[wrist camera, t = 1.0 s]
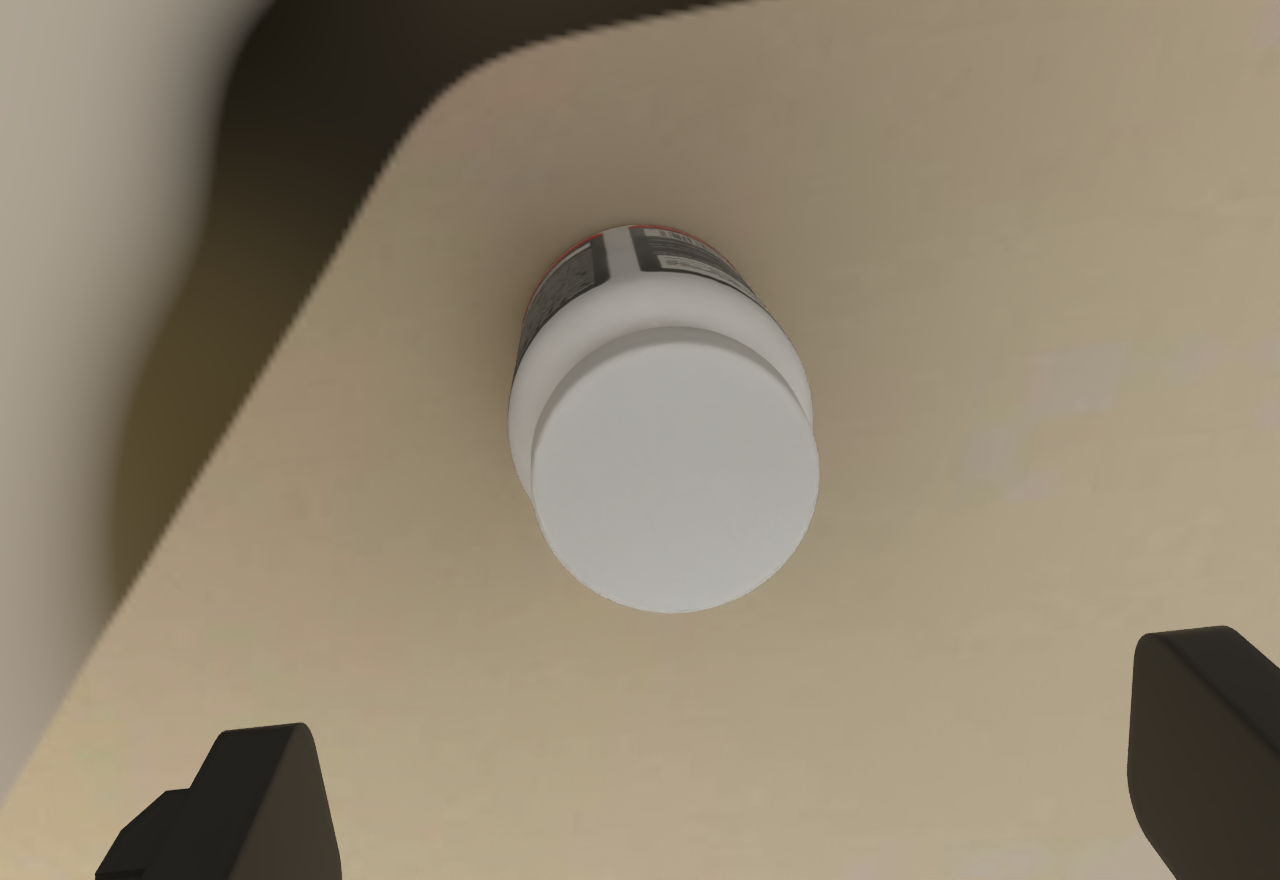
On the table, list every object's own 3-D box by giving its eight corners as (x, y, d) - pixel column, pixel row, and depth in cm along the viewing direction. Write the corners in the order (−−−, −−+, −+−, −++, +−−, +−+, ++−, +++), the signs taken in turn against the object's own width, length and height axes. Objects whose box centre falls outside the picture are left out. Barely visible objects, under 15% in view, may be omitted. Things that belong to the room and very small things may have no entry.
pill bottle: (566, 475, 28) (558, 684, 19) (489, 263, 26) (438, 375, 17) (783, 408, 28) (885, 586, 18) (721, 188, 26) (801, 261, 16)
